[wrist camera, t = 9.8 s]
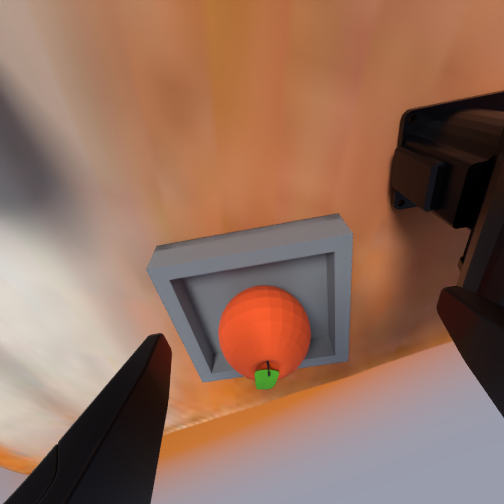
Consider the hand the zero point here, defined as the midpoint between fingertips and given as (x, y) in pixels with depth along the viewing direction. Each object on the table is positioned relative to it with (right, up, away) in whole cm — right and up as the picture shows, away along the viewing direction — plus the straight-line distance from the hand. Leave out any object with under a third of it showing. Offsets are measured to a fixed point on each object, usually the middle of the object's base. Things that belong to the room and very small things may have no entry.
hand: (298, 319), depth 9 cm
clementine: (-1, -2, +15) cm, 15 cm away
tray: (-1, -2, +16) cm, 16 cm away
